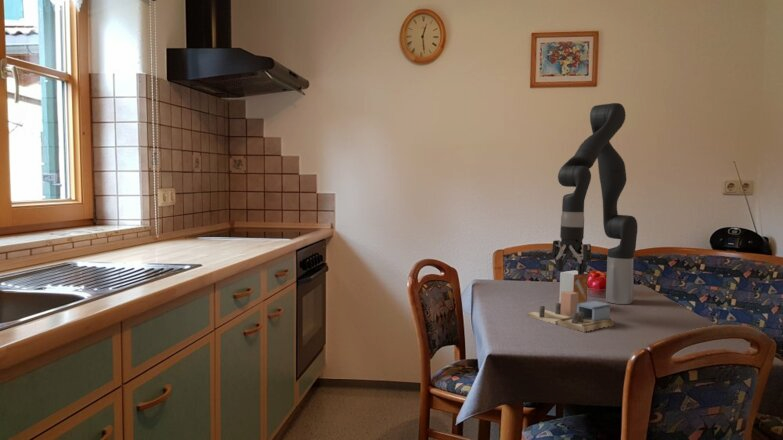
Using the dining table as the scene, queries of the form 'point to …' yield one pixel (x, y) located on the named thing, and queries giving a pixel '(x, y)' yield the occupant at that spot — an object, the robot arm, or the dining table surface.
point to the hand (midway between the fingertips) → (570, 272)
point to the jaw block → (569, 303)
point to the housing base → (583, 322)
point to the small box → (574, 284)
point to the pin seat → (548, 314)
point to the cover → (594, 310)
